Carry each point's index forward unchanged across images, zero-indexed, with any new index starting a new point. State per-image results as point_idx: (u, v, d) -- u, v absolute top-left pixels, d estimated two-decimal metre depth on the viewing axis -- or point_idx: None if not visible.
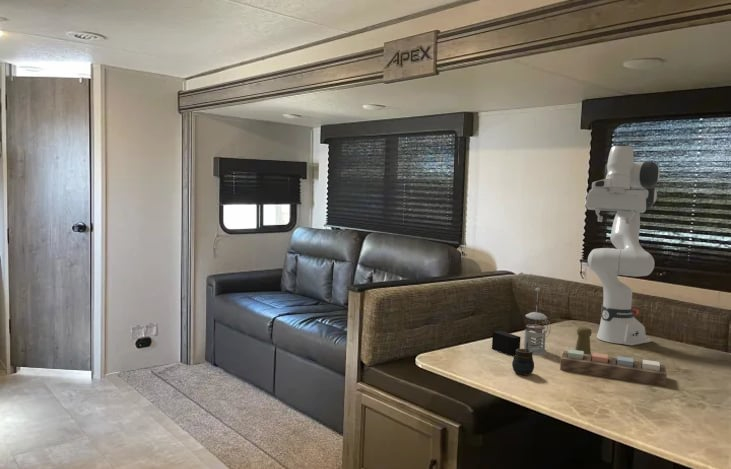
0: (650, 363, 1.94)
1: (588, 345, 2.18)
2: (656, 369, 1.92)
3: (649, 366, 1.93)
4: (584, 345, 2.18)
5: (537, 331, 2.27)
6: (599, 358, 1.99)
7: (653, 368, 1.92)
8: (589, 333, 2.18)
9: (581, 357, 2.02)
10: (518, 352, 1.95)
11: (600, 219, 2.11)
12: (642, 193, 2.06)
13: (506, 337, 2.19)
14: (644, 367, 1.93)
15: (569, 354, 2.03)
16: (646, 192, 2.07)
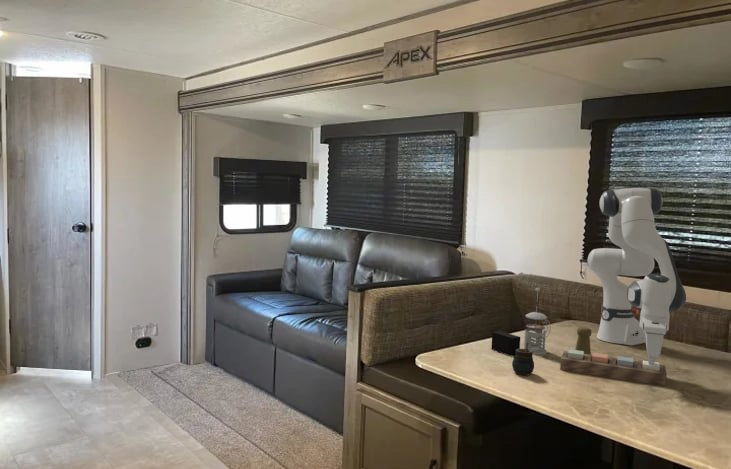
0: (650, 364, 1.94)
1: (588, 345, 2.18)
2: (656, 370, 1.92)
3: (649, 367, 1.93)
4: (584, 345, 2.18)
5: (537, 331, 2.27)
6: (599, 358, 1.99)
7: (653, 369, 1.92)
8: (589, 333, 2.18)
9: (581, 357, 2.02)
10: (518, 352, 1.95)
11: (653, 362, 1.94)
12: None
13: (506, 337, 2.19)
14: (644, 368, 1.94)
15: (569, 354, 2.03)
16: None
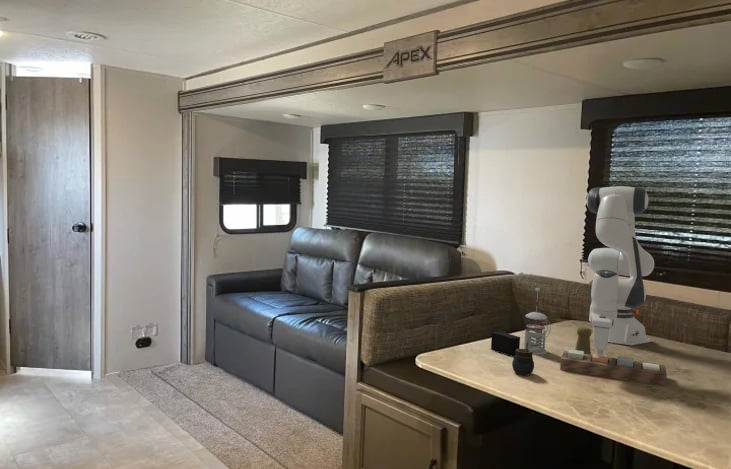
0: (650, 366, 1.94)
1: (588, 345, 2.18)
2: None
3: (649, 369, 1.93)
4: (584, 345, 2.18)
5: (537, 331, 2.27)
6: (599, 359, 1.99)
7: None
8: (589, 333, 2.18)
9: (581, 357, 2.02)
10: (518, 352, 1.95)
11: (602, 355, 2.00)
12: None
13: (506, 337, 2.18)
14: None
15: (569, 354, 2.03)
16: None
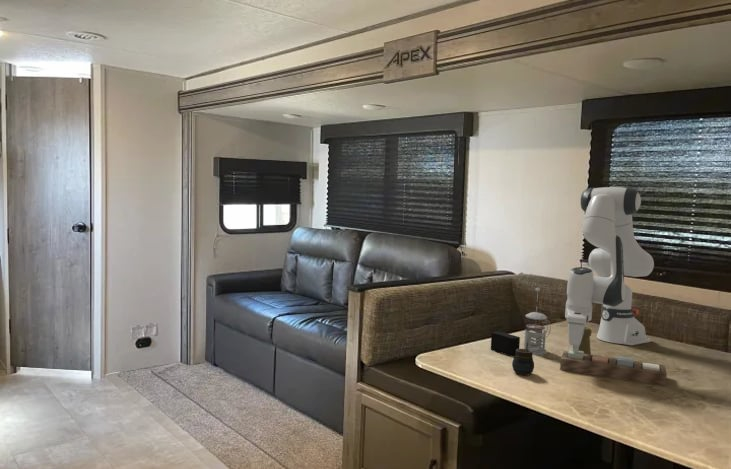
0: (650, 366, 1.94)
1: (588, 345, 2.18)
2: None
3: (649, 369, 1.93)
4: (584, 345, 2.18)
5: (537, 331, 2.27)
6: (599, 361, 1.99)
7: None
8: (589, 333, 2.18)
9: (581, 357, 2.02)
10: (518, 352, 1.95)
11: None
12: None
13: (505, 338, 2.18)
14: None
15: (569, 354, 2.03)
16: None
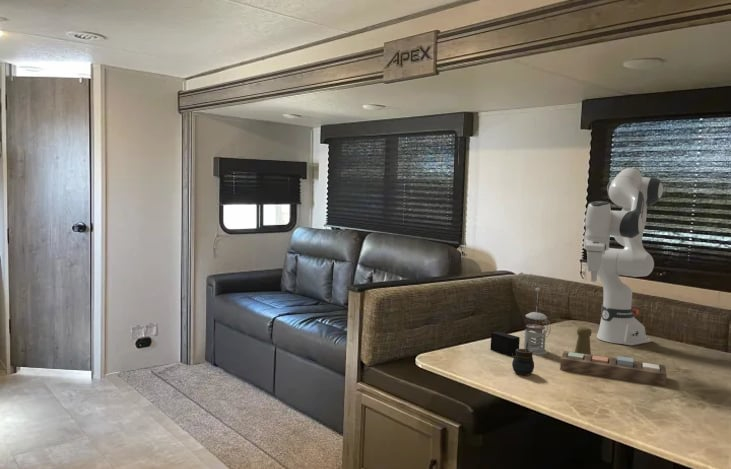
0: (650, 366, 1.94)
1: (588, 345, 2.18)
2: None
3: (649, 369, 1.93)
4: (584, 345, 2.18)
5: (537, 331, 2.27)
6: (599, 361, 1.99)
7: None
8: (589, 333, 2.18)
9: None
10: (518, 352, 1.95)
11: None
12: None
13: (505, 338, 2.18)
14: None
15: (569, 357, 2.03)
16: None
